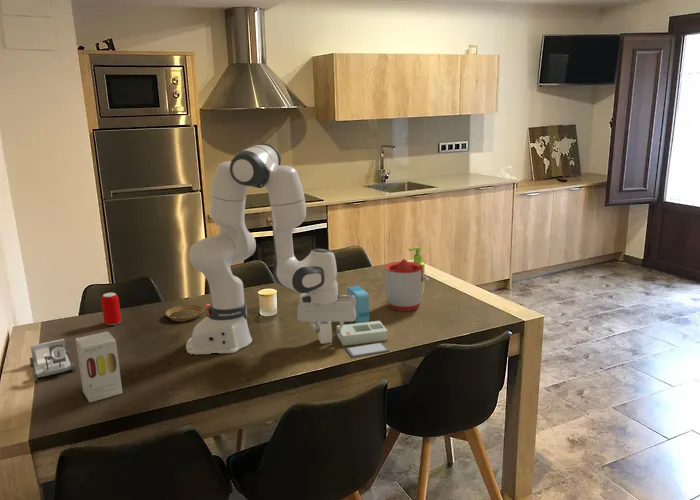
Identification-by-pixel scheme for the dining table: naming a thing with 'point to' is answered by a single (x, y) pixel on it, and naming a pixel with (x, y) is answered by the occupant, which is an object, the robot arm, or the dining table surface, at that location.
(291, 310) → the dining table surface
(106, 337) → the supplement box
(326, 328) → the plug
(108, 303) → the beverage can
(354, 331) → the socket strip
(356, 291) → the blue rounded block
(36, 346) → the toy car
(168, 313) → the plant saucer
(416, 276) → the citrus juicer
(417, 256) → the soap dispenser
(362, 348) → the phone
